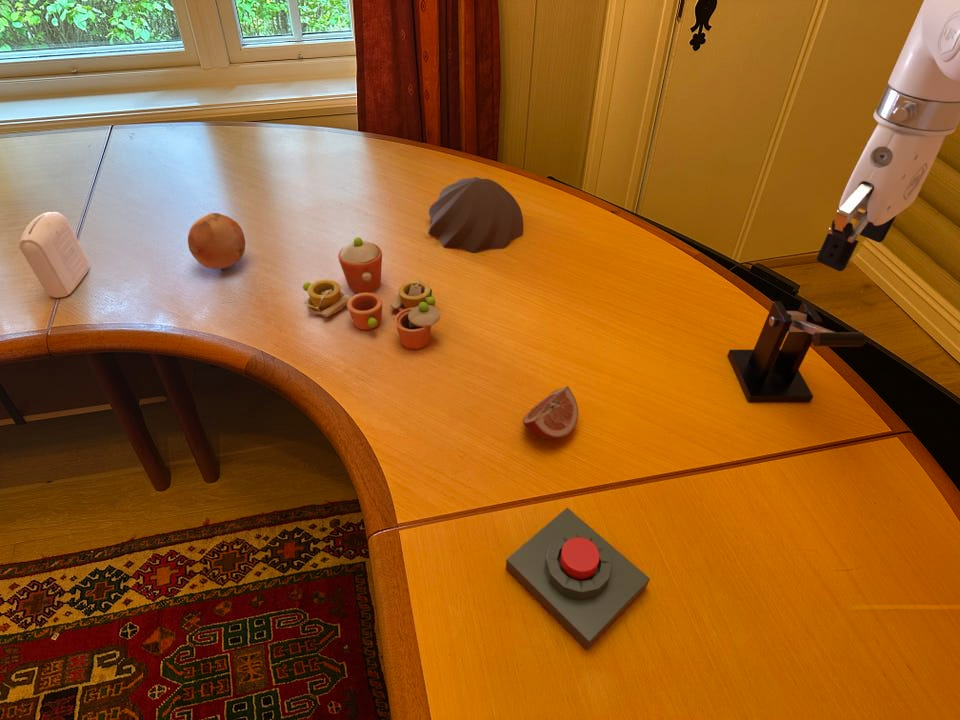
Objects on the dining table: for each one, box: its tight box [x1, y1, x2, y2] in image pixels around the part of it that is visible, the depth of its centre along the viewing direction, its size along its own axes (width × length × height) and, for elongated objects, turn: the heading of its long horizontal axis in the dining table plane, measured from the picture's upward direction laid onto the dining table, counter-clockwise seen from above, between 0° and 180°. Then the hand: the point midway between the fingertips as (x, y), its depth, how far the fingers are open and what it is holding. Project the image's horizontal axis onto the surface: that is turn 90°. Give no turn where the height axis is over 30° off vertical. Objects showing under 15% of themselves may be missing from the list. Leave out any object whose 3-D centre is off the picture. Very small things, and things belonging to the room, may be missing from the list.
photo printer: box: [18, 211, 91, 299], centre depth 104 cm, size 10×4×12 cm, turn 4°
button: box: [560, 537, 600, 579], centre depth 64 cm, size 4×4×2 cm
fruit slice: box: [522, 385, 579, 440], centre depth 82 cm, size 8×7×5 cm
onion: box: [187, 212, 246, 270], centre depth 109 cm, size 10×10×10 cm
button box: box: [505, 507, 651, 651], centre depth 66 cm, size 12×10×4 cm
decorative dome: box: [427, 176, 524, 254], centre depth 119 cm, size 19×20×10 cm
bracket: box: [727, 301, 823, 403], centre depth 86 cm, size 10×9×13 cm
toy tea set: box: [302, 236, 441, 350], centre depth 99 cm, size 26×16×10 cm, turn 59°
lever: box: [786, 310, 867, 347], centre depth 78 cm, size 13×6×2 cm, turn 179°
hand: (849, 251), depth 73 cm, fingers open, 9 cm apart
